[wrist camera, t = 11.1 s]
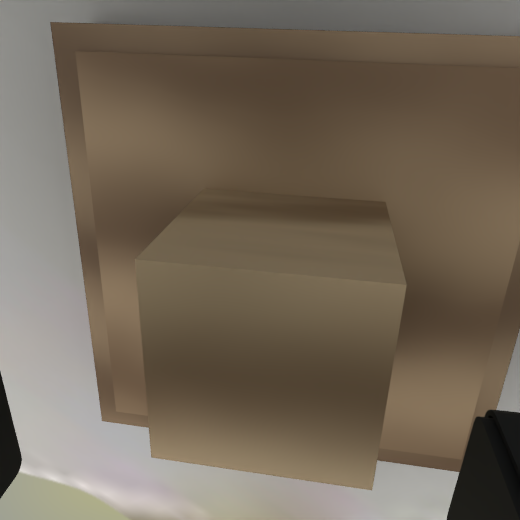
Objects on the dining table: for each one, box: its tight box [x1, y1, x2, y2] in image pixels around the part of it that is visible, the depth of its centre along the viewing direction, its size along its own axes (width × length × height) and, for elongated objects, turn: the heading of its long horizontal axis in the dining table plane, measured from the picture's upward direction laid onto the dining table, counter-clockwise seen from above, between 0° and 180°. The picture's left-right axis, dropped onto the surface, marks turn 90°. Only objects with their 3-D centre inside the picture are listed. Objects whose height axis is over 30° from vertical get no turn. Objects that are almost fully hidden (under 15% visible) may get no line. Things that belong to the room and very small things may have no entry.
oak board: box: [50, 22, 520, 472], centre depth 19 cm, size 16×16×3 cm
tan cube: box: [135, 189, 407, 490], centre depth 15 cm, size 6×6×6 cm
